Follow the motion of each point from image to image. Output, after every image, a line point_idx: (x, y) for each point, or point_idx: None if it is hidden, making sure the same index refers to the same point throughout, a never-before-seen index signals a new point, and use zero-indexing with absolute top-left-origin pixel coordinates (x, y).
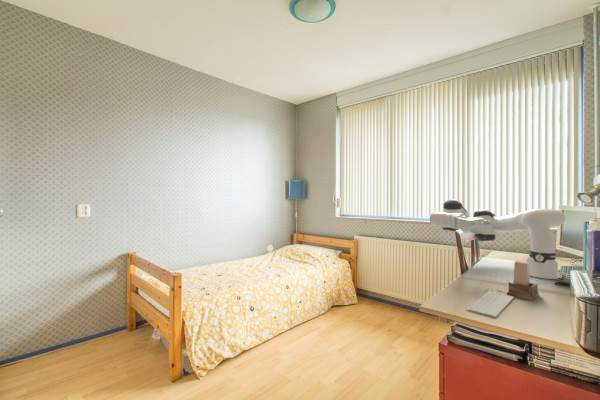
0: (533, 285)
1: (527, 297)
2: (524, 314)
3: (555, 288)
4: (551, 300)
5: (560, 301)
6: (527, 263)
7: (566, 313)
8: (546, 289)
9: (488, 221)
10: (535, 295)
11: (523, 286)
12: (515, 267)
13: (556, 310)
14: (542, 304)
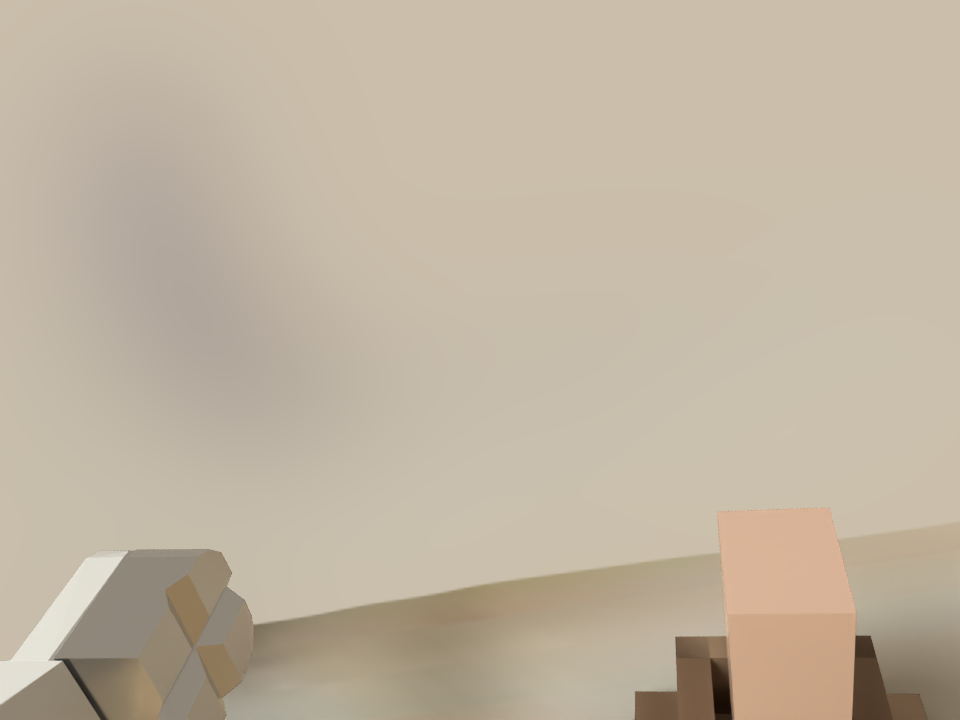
0: None
1: (925, 718)
2: None
3: (311, 664)
4: (718, 623)
5: (685, 586)
6: (810, 512)
7: (951, 523)
8: (394, 701)
9: (199, 583)
10: None
11: (885, 703)
12: (850, 658)
13: (954, 564)
14: (907, 641)
